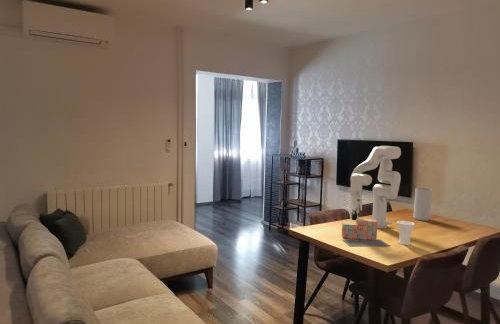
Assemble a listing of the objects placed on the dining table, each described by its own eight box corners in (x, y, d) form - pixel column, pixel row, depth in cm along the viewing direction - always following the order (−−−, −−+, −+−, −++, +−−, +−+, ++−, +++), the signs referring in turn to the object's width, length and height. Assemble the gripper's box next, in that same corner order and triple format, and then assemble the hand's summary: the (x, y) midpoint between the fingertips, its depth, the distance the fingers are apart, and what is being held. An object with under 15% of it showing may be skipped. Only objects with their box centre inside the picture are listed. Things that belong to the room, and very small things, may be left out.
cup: (415, 246, 227) (416, 225, 226) (397, 245, 229) (398, 224, 227) (410, 241, 237) (412, 221, 236) (393, 240, 239) (395, 220, 238)
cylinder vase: (411, 219, 300) (414, 188, 298) (414, 216, 311) (417, 187, 308) (428, 221, 293) (431, 190, 291) (431, 218, 304) (433, 189, 301)
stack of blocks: (342, 238, 239) (343, 219, 238) (341, 235, 246) (342, 217, 245) (376, 240, 237) (377, 221, 236) (374, 237, 243) (375, 219, 243)
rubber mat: (379, 239, 240) (379, 239, 240) (390, 246, 227) (390, 245, 227) (341, 239, 236) (341, 239, 236) (350, 246, 223) (350, 246, 223)
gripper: (366, 195, 240) (364, 222, 242) (356, 191, 255) (355, 217, 257) (355, 195, 239) (353, 222, 241) (346, 191, 254) (344, 217, 256)
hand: (354, 219), depth 249 cm, fingers closed
